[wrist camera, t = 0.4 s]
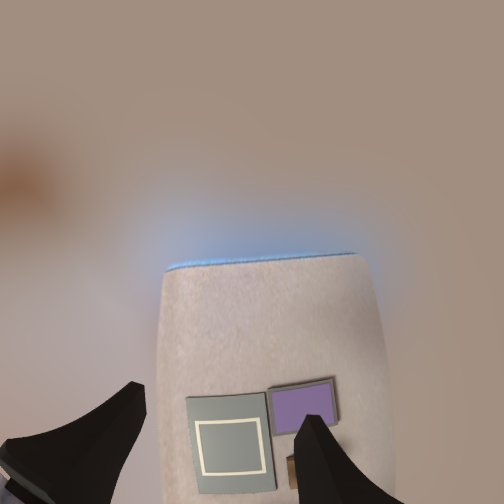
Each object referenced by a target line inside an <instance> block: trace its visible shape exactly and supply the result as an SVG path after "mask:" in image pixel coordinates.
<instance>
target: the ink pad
mask: <svg viewBox="0 0 504 504" xmlns="http://www.w3.org/2000/svg"><path fill="white" fill-rule="evenodd" d="M267 391H268V399H269V408H270V416H271V424H272V433H273V436H281V435H288V434H294V433H298V431H299V429H300V427H301V425H302V423H303V421H304V419H305V417H306V415H307V414H312V415H320V416H321V417H322V419H323V421H324V422H325V424H326V425H327V427H331V426H335V425H338V420H337V412H336V403H335V395H334V388H333V380H332V379H327V380H322V381H317V382H311V383H305V384H299V385H293V386H286V387H279V388H272V389H267Z"/></svg>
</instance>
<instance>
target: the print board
mask: <svg viewBox="0 0 504 504" xmlns="http://www.w3.org/2000/svg"><path fill="white" fill-rule="evenodd" d="M186 407H187V416H188V425H189V433H190V440H191V448H192V454H193V461H194V467H195V473H196V479H197V485H198V490H199V494H244V493H259V492H270V491H276V487H275V479H274V470H273V462H272V454H271V446H270V438H269V429H268V421H267V413H266V405H265V396H264V393H258V394H248V395H236V396H222V397H197V398H186Z"/></svg>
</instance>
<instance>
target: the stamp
mask: <svg viewBox="0 0 504 504" xmlns="http://www.w3.org/2000/svg"><path fill="white" fill-rule="evenodd" d="M286 459H287V467H288V476H289V485H290V489H291V490H292V489H298V486H297V478H296V471H295V463H294V456H292V457H286Z"/></svg>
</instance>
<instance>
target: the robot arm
mask: <svg viewBox="0 0 504 504" xmlns="http://www.w3.org/2000/svg"><path fill="white" fill-rule="evenodd" d="M144 389H145V388H144V385H142V384H139V383H136V382H133V381H131V382H129V383H128V384H127V385H126V386H125V387H123V388H122V389H121V390H120V391H119V392H117V393H116V394H115V395H113V396H112V397H111V398H110V399H108V400H107V401H105V402H104V403H103V404H101V405H100V406H98V407H97V408H95V409H94V410H92V411H91V412H89V413H87V414H86V415H84V416H82V417H81V418H79V419H77V420H75V421H73V422H71V423H69V424H67V425H64V426H62V427H59V428H57V429H54V430H51V431H48V432H45V433H41V434H37V435H33V436H28V437H22V438H13V439H7V440H6V441H5V442H4V443H3V445H2V446H1V447H0V466H1V467H2V468H3V469H4V470H5V471H6V473H7V474H8V475H9V476H10V477H11V478H10V479H9V481H8V480H7V479H6V478H5V477H4V476H3V475H2V474H1V473H0V504H110V503H111V499H112V496H113V493H114V489H115V486H116V483H117V480H118V477H119V474H120V472H121V469H122V467H123V465H124V463H125V461H126V459H127V457H128V455H129V453H130V451H131V449H132V447H133V445H134V443H135V441H136V439H137V437H138V435H139V433H140V431H141V428H142V426H143V423H144V420H145V417H146V414H147V413H146V402H145V390H144ZM294 463H295V471H296V478H297V486H298V493H299V504H404V503H402V502H400V501H398V500H397V499H395V498H393V497H392V496H390V495H389V494H387V493H386V492H384V491H383V490H382V489H380V488H379V487H378V486H377V485H375V484H374V483H373V482H372V481H370V480H369V479H368V478H367V477H366V476H365V475H364V474H363V473H362V472H361V471H360V470H359V469H358V468H357V467H356V466H355V464H354V463H353V462H352V461H351V460H350V458H349V457H348V456H347V455H346V453H345V452H344V451H343V449H342V448H341V447H340V445H339V444H338V442H337V441H336V439H335V438H334V436H333V435H332V433H331V432H330V430H329V429H328V427H327V425H326V424H325V422H324V421H323V419H322V417H321V416H320V415H312V414H307V415H306V417H305V419H304V421H303V423H302V425H301V427H300V429H299V431H298V433H297V435H296V437H295V439H294Z"/></svg>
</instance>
